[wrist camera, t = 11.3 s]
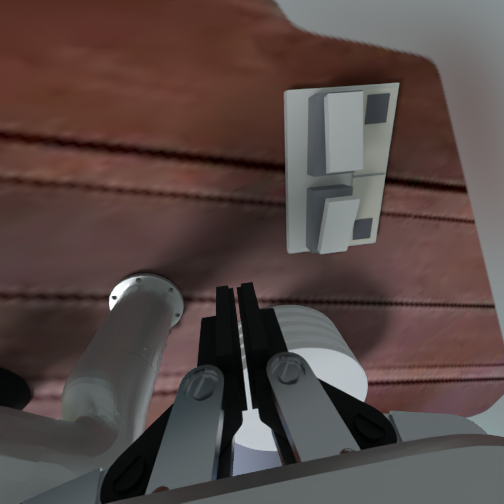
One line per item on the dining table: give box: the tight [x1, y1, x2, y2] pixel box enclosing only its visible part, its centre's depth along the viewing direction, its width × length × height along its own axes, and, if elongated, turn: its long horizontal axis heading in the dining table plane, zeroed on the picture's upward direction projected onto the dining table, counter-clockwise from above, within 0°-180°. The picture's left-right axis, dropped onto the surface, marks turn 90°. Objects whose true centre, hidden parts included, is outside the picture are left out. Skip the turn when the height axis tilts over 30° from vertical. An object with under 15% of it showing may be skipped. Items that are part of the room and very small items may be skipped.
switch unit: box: [284, 83, 399, 254], centre depth 37 cm, size 24×16×4 cm, turn 4°
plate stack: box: [235, 305, 368, 451], centre depth 49 cm, size 28×28×12 cm
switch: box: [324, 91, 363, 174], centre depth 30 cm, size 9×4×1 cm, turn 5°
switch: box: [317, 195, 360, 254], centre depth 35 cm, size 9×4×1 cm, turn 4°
